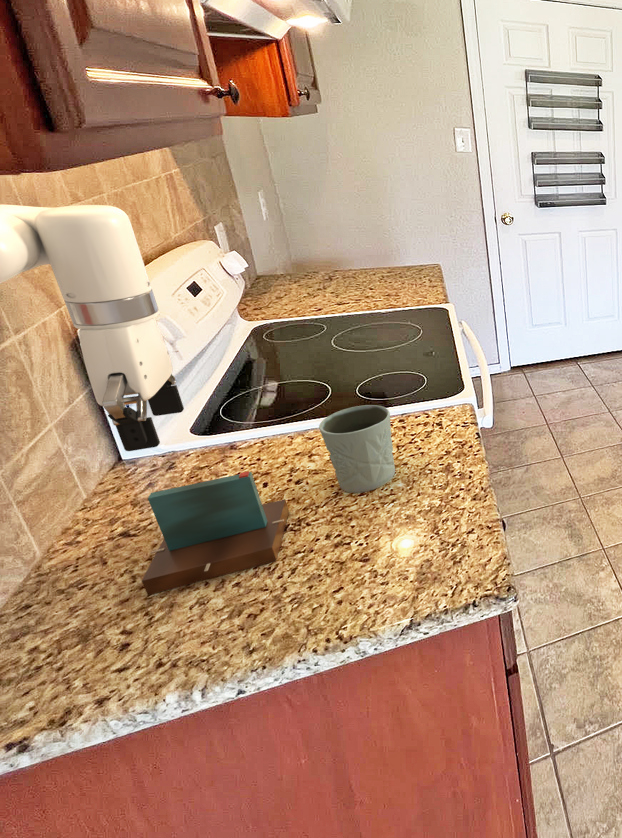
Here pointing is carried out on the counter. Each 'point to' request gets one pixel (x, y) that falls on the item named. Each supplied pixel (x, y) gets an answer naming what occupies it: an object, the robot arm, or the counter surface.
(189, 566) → the frame stand
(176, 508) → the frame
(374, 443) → the drinking glass
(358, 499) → the counter surface
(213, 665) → the counter surface
